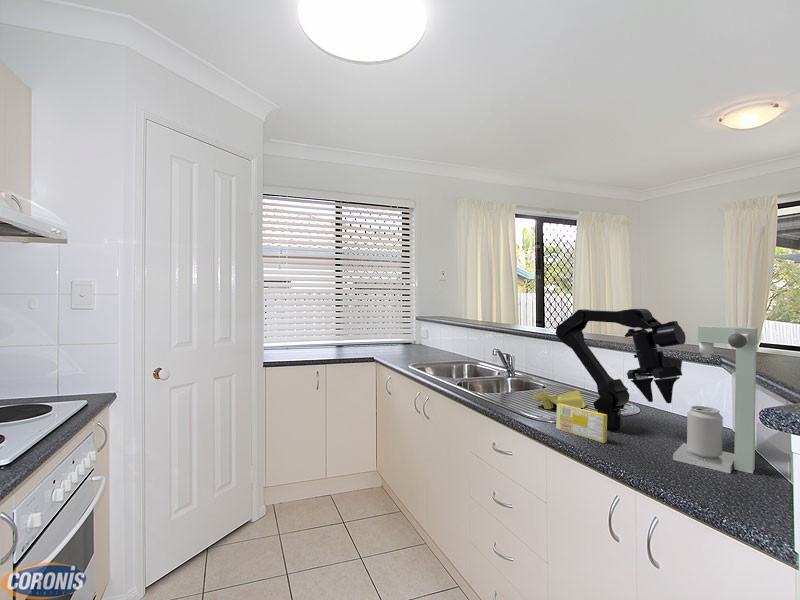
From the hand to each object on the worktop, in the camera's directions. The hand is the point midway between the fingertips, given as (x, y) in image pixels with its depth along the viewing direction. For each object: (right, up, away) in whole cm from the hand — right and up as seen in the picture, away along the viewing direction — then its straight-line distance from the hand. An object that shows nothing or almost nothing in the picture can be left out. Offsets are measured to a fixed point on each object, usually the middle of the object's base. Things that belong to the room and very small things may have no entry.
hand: (659, 402), depth 123 cm
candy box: (-21, -12, +6) cm, 25 cm away
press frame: (+1, -12, -21) cm, 24 cm away
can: (+4, -10, -13) cm, 17 cm away
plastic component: (-15, -12, +39) cm, 43 cm away
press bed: (+4, -12, -13) cm, 18 cm away
